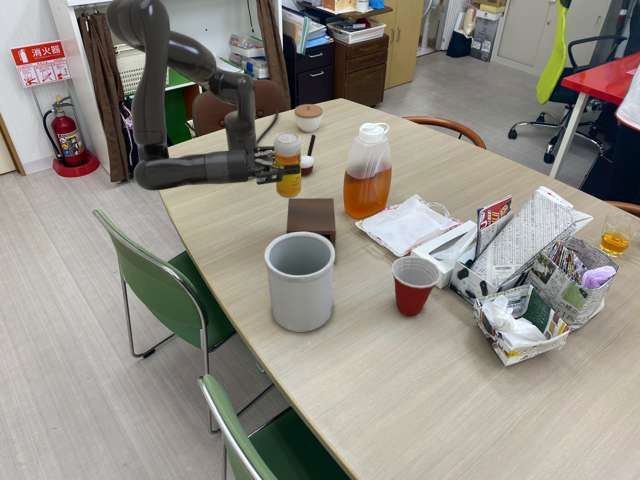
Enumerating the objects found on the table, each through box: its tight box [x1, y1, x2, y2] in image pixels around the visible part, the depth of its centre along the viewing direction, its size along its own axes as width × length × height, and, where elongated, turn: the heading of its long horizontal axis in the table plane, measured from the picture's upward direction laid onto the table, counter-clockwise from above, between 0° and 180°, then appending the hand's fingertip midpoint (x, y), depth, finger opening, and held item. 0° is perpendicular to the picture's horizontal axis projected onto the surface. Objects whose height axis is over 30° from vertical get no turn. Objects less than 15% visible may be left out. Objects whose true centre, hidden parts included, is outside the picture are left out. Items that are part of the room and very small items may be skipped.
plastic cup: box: [391, 255, 442, 317], centre depth 104 cm, size 11×11×12 cm
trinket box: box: [293, 103, 324, 133], centre depth 176 cm, size 11×11×9 cm
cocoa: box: [301, 134, 317, 177], centre depth 150 cm, size 10×6×12 cm, turn 119°
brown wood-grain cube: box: [286, 197, 337, 251], centre depth 121 cm, size 14×12×11 cm
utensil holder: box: [263, 232, 336, 333], centre depth 102 cm, size 15×15×18 cm
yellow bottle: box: [273, 131, 302, 199], centre depth 109 cm, size 6×6×15 cm
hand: (297, 161), depth 109 cm, fingers closed on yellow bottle, 6 cm apart
